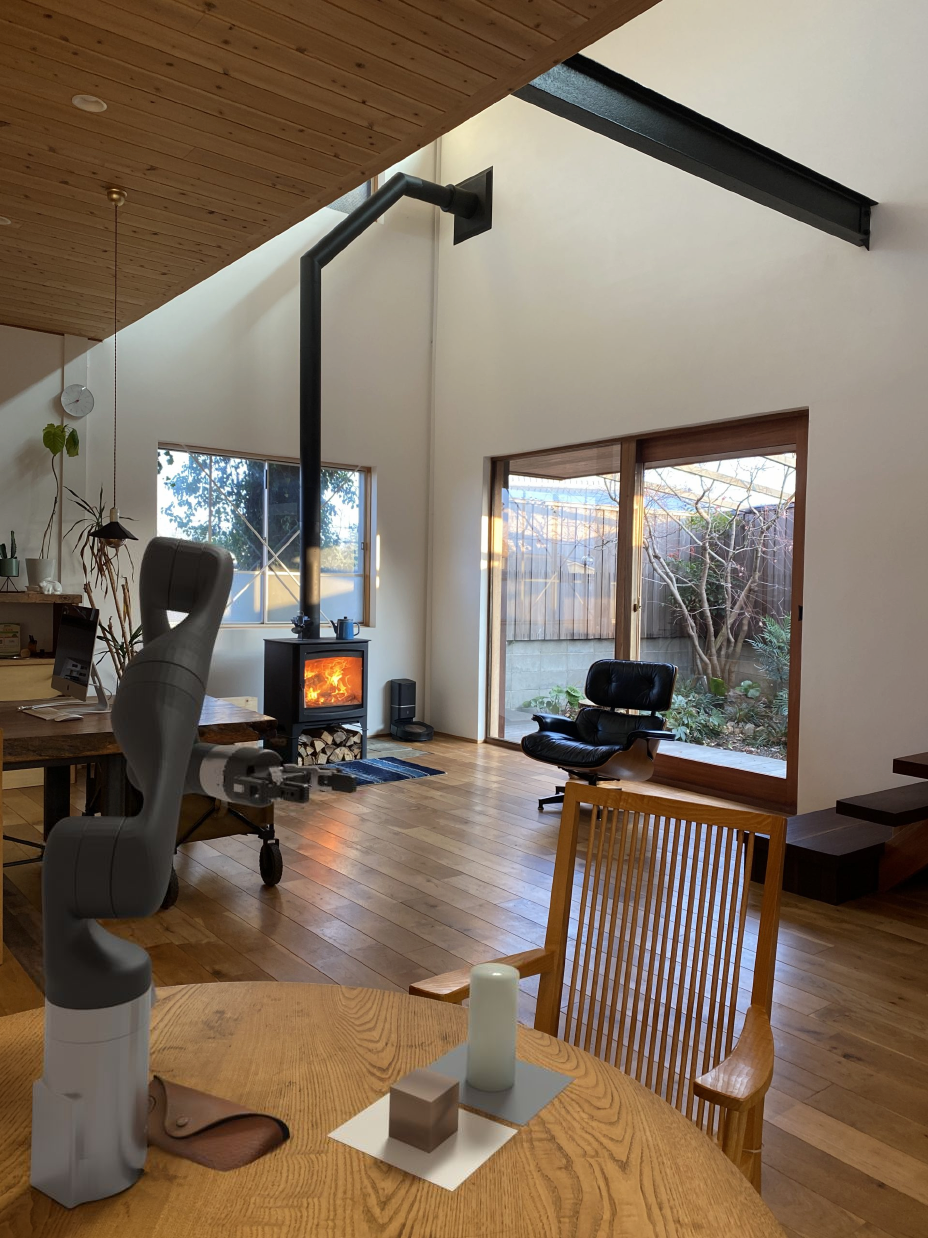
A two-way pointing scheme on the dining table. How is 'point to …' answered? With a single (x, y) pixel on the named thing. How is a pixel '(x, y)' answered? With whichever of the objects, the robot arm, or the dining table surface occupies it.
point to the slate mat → (512, 1103)
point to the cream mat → (438, 1167)
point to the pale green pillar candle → (492, 1027)
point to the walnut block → (424, 1109)
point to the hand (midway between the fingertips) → (331, 789)
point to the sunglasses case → (209, 1127)
